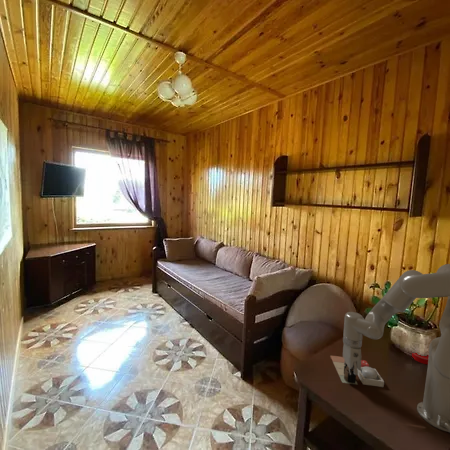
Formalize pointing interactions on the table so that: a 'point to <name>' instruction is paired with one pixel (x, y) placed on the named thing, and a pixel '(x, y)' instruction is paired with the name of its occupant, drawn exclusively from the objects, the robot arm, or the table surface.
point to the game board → (338, 365)
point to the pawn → (346, 373)
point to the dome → (369, 373)
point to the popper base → (367, 381)
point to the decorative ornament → (420, 358)
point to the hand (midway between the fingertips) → (349, 377)
